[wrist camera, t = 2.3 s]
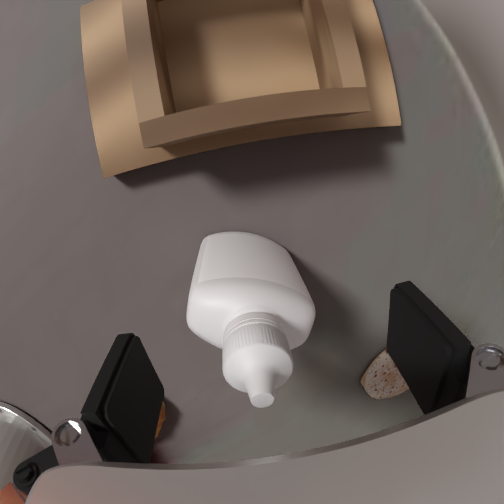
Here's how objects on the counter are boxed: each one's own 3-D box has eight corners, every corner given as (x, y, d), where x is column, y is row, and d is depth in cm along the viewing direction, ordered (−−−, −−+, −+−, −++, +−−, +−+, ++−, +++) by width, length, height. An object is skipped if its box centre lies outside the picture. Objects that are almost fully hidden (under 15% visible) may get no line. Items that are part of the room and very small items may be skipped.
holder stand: (389, 126, 17) (434, 125, 12) (112, 175, 17) (76, 187, 12) (351, -27, 13) (380, -60, 8) (89, 14, 13) (55, -13, 8)
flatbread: (434, 320, 23) (440, 325, 22) (430, 374, 26) (434, 380, 25) (355, 354, 24) (359, 361, 23) (361, 405, 26) (364, 411, 25)
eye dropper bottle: (231, 203, 18) (236, 303, 7) (298, 258, 20) (370, 390, 9) (188, 255, 19) (145, 395, 8) (254, 304, 21) (278, 455, 10)
